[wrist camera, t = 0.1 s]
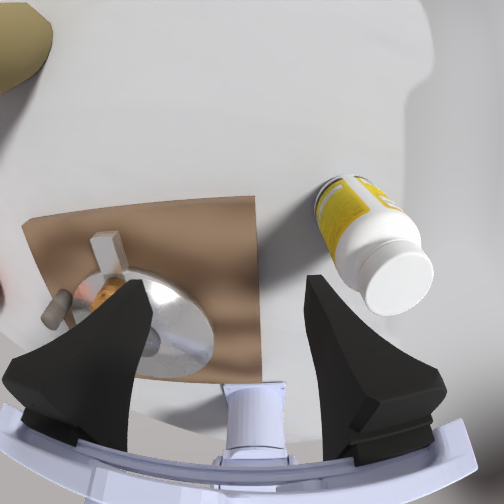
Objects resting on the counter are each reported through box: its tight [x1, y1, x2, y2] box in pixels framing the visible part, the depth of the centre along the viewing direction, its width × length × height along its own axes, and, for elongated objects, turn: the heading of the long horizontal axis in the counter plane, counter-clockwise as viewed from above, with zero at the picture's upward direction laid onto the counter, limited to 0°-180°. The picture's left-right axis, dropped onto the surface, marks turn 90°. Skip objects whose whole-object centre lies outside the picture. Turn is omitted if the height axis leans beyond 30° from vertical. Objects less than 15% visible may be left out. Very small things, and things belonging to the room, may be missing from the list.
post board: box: [22, 196, 262, 384], centre depth 24 cm, size 22×22×6 cm
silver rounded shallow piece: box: [72, 231, 215, 378], centre depth 22 cm, size 17×14×4 cm
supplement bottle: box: [314, 174, 433, 316], centre depth 16 cm, size 5×5×10 cm
